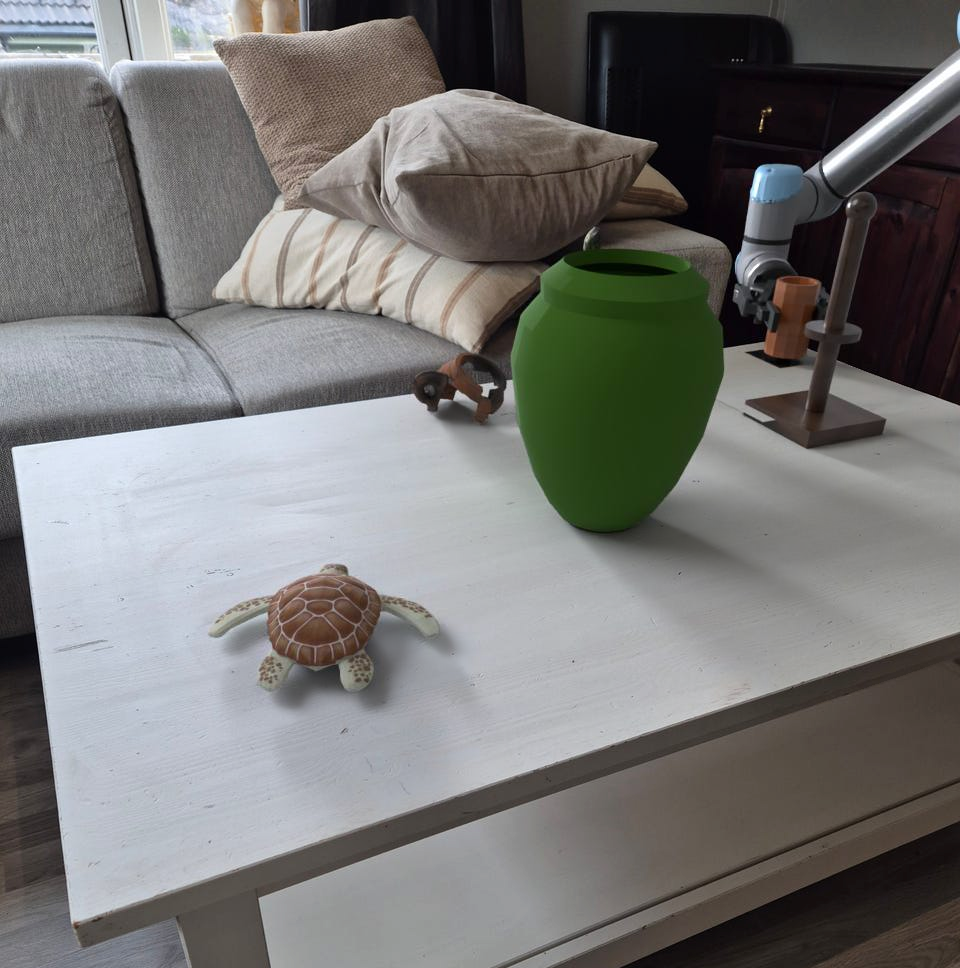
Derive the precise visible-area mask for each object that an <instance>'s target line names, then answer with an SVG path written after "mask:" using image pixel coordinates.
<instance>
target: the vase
mask: <svg viewBox="0 0 960 968" xmlns="http://www.w3.org/2000/svg"><path fill="white" fill-rule="evenodd" d="M539 277H540V280H539V281H540V292H539V293H538V295H536V297H535V298H534V299H533V300H532V301H531V302H530V303H529V305H528V306H527V307H526V308H525V309H524V310H523V311H522V313H521V314H520V317H519V320H518V325H517V327H516V328H517V329H516V332H515V337H514V341H513V345H512V349H511V353H510V368H511V376H512V386H513V387H512V388H513V396H514V404H515V412H516V413H515V414H516V421H517V426H518V429H519V432H520V437H521V439H522V442H523V445H524V449H525V452H526V455H527V459H528V462H529V464H530V468H531V470H532V473H533V475H534V478H535V479H536V481H537V483H538V484H539V487H540V488H541V490H542V492H543V494H544V496H545V497H546V499H547V501H548V503H549V504H550V505H551V507H553V509H554V510H555V511H556V512H557V514H558V515H559V516H560V517H561V518H562V519H563V520H564V521H566V522H568V524H570V525H572V526H575V527H578V528H579V529H583V530H586V531H591V532H598V533H612V532H613V533H614V532H621V531H624V530H628V529H631V528H634V527H635V526H637V525H639V524H640V523H641V522H643V521H644V520H645V519H647V518H648V517H649V516H650V515H652V514H653V513H654V512H655V511H656V510H657V509H658V507H659V506H660V505H661V504H662V503H663V502H664V501H665V499H666V498H667V497H668V496H669V494H670V493H671V492H672V491H673V489H674V488H675V487H676V486H677V484H678V483H679V481H680V479H681V478H682V475H683V474H684V472H685V470H686V468H687V466H688V465H689V463H690V461H691V460H692V457H693V456H694V454H695V453H696V451H697V449H698V447H699V445H700V443H701V442H702V440H703V439H704V435H705V433H706V429H707V426H708V424H709V420H710V417H711V414H712V411H713V408H714V405H715V402H716V399H717V397H718V394H719V391H720V387H721V385H722V382H723V378H724V376H725V354H724V352H725V351H724V330H723V329H724V328H723V325H722V324H721V322H720V320H719V319H718V317H717V316H716V314H715V313H714V311H713V309H712V308H711V306H710V304H709V303H708V300H709V297H710V296H709V294H710V291H711V284H710V282H709V281H708V280H707V279H706V278H705V277H704V276H703V275H702V274H701V273H700V271H698V270H697V269H696V268H695V267H694V266H693V265H692V264H691V263H690V261H688V260H686V259H685V258H682V257H679V256H678V255H673V254H669V253H664V252H659V251H653V250H646V249H645V250H644V249H637V248H636V249H635V248H633V249H632V248H601V249H591V250H584V249H583V250H577V251H574V252H571V253H569V254H566V255H565V256H563V257H562V258H561V259H560V260H558V261H557V262H556V263H554V264H553V265H552V266H550V267H549V268H548V269H546V270H544V271H543V272H542V273H541V274H540V275H539Z"/></svg>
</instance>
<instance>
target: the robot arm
mask: <svg viewBox="0 0 960 968" xmlns="http://www.w3.org/2000/svg"><path fill="white" fill-rule="evenodd" d="M956 33H957V40H958V42H959V44H960V11H959V12H958V15H957V22H956ZM959 116H960V48H959V49H957V50H956V51H955V52H954V53H952V54H951V55H950V56H949V57H947V58H946V59H945V60H944V61H943V62H941V63H940V64H939V65H938V66H936V67H935V68H934V69H932V70H931V71H930V72H929V73H928V74H926V75H925V76H924V77H922V78H921V79H920V80H919V81H917V82H916V83H915V84H914V85H912V86H911V87H910V88H909V89H907V90H906V91H905V92H904V93H903V94H901V95H900V96H899V97H897V98H895V100H894V101H892V102H891V103H890V104H888V106H886V107H885V108H883V109H882V110H881V111H880V112H879V113H878V114H876V115H875V116H874V117H872V118H871V119H870V120H869V121H868V122H866V123H865V124H864V125H862V126H861V127H860V128H858V130H857V131H854V133H853V134H851V135H850V136H848V137H847V138H846V139H845V140H844V141H842V142H841V143H840V144H839V145H837V146H836V147H835V148H834V149H833V150H831V151H830V152H829V153H827V155H826V154H825V156H824V157H823V158H822V159H820V160H819V161H818V162H817V163H816V164H814V165H813V166H812V167H810V168H809V169H808V170H806V171H805V172H804V171H803V169H802V168H801V166H798V165H793V164H783V163H771V164H769V163H767V164H762V165H760V166H759V167H757V169H756V170H755V172H754V176H753V180H752V187H751V188H750V190H749V202H748V209H747V215H746V221H745V227H744V233H743V238H742V245H741V250H740V251H739V253H738V254H737V257H736V260H735V262H734V264H735V265H734V266H735V267H734V269H735V270H734V271H735V275H736V280H737V282H738V283H735V284H734V290H733V296H732V302H733V303H735V304H737V306H738V309H739V312H740V315H741V317H743V318H750V317H751V315H754V319H753V324H756V325H763V322H764V324H765V325H766V327H767V330H768V329H769V331H770V332H771V333H776V332H777V327H778V321H779V316H780V312H779V310H778V309H777V308H776V306H775V305H774V303H773V298H774V293H775V287H776V282H777V279H778V278H780V277H786V276H799V274H798V273H797V272H796V270H795V269H794V268H793V267H792V266H791V264H790V262H788V256H789V250H790V245H791V242H792V236H793V230H794V227H795V226H798V225H802V224H806V223H810V222H811V223H812V222H818V221H822V220H824V219H825V218H827V217H829V216H832V215H833V214H835V212H836V211H837V210H839V208H840V207H841V205H842V203H843V201H845V200H846V199H848V198H849V197H850V196H851V195H852V194H854V193H855V192H856V191H858V190H859V189H861V188H862V187H863V186H864V185H866V184H867V183H868V182H871V180H873V179H874V178H875V177H877V176H878V175H880V174H881V173H882V172H883V171H885V170H886V169H888V168H889V167H890V166H892V165H893V164H894V163H896V162H897V161H898V160H900V159H901V158H903V157H904V156H905V155H907V154H908V153H909V152H911V151H912V150H914V149H915V148H916V147H917V146H919V145H920V144H922V143H923V142H925V141H927V139H928V138H930V137H932V135H934V134H935V133H937V132H938V131H939V130H941V129H942V128H943V127H944V126H945V127H946V125H947V124H949V123H950V122H951V121H953V120H954V119H956V118H957V117H959ZM829 298H830V294H829V293H827V292H826V287H824V286H821V288H820V292H819V297H818V302H817V306H816V311H815V316H814V320H813V321H818V320H825V316H826V311H827V307H828V302H829Z"/></svg>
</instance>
